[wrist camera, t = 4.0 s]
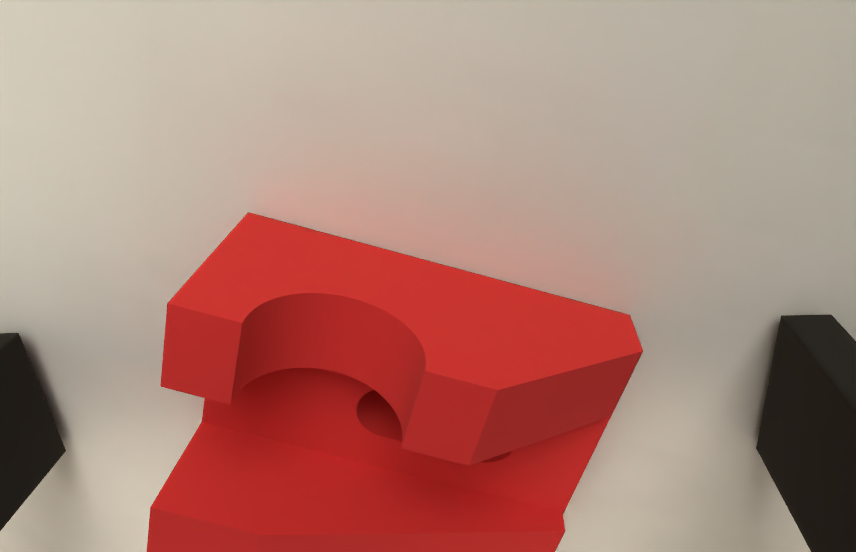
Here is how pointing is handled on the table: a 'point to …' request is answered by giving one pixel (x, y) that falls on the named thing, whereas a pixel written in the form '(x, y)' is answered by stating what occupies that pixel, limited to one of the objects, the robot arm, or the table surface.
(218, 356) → the bracket
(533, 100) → the table surface
